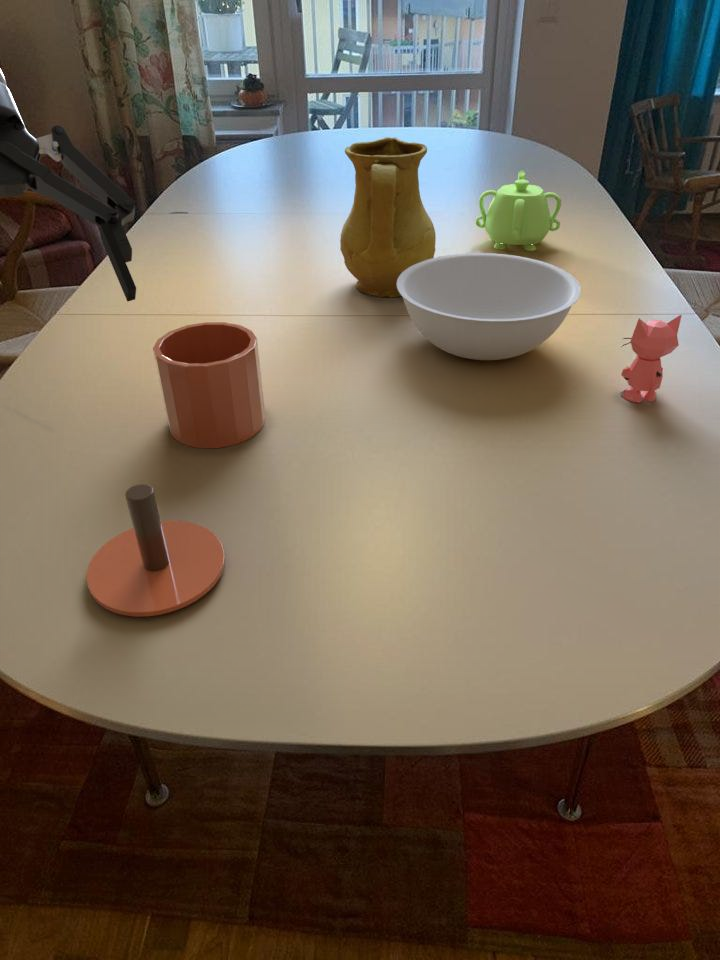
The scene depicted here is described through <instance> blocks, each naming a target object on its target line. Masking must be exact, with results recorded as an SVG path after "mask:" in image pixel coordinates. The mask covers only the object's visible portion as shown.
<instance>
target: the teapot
mask: <svg viewBox="0 0 720 960" xmlns="http://www.w3.org/2000/svg"><path fill="white" fill-rule="evenodd" d="M487 196H494V197H493V199H492V200H491V202H490V204H489V206H488V209H487V212H486V208H485V204H484V200H485V198H486V197H487ZM547 198H553V199H554V200H555V201H556V205H555V208H554V210H553V212H552V214H551V211H550V207H549V203H548V199H547ZM478 206H479V210H480V213H481V215H479V216H477V217H476V219H475V226H476V227H477V228H480V229H485V232H486V234H487V236H488V237H489V239H490V240H491V241H493V242H494V243H495V244H494V245H493V248H494V249H497V250H504V249H506V248H507V246H508V245H515V246H516V245H517V246H522V247H523V250H525V251H527V252H528V251H529V252H530V251H531V252H532V251H533V252H534V251H536V250H537V248H536V245H537V244H539V243H541V242H542V241H543V240H544V239H545V238H546V236H547V235H548V233H549V232H556V231H558V230H559V229H560V227H561V222H560V220H559V219H558V218H556V217H557V216H558V214H559V212H560V209H561V207H562V199H561V197H560V195H558V194H557V193H555V192H553V191H547V192H544V189H543V188H542V187H540V186H539V185H535V184H530V181H529V180H527V179H526V172H525V170H523V169H521V170H519V171H518V174H517V180H514V183H511V184H510V183H508V184H504V185H502V186H500V187H499V188H498V190H494V189H488V190H486V191H483V193H482V194H480V196H479V199H478ZM480 220H482V222H480ZM553 223H555V224H556V225H555V226H553ZM500 243H503V244H500ZM531 244H533V245H531Z"/></svg>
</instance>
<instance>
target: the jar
mask: <svg viewBox="0 0 720 960" xmlns="http://www.w3.org/2000/svg"><path fill="white" fill-rule="evenodd" d="M152 351H153V357H154V361H155V366H156V367H155V368H156V371H157V376H158V381H159V386H160V391H161V396H162V401H163V406H164V411H165V417H166V421H167V422H166V423H167V426H168V428H169V433H170V435H171V436H172V437H173V439H175V440H176V441H177V442H179V443H181V444H182V445H185V446H188V447H192V448H199V449H219V448H220V449H221V448H225V447H231V446H235V445H238V444H240V443H243V442H246V441H248V440H249V439H251V438H253V437H254V436H255V435H257V434H258V433H259V432H260V431H261V429H262V428H264V424H265V421H266V417H265V416H266V410H265V400H264V391H263V380H262V372H261V362H260V353H259V344H258V338H257V336H256V335H255V333H254V332H253V330H252V329H249V328H247V327H246V326H244V325H240V324H236V323H231V322H225V321H224V322H223V321H207V322H205V321H204V322H199V323H193V324H187V325H184V326H181V327H177V328H175V329H171V330H169V331H168V332H166V333H165V334H163V335H162V336H161V337H159V338H158V339H157V340H156V342H155V344H154V346H153V348H152Z"/></svg>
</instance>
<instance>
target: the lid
mask: <svg viewBox="0 0 720 960" xmlns="http://www.w3.org/2000/svg"><path fill="white" fill-rule="evenodd" d="M124 497H125V500H126V505H127V508H128V513H129V516H130V520H131V525H132V528H130V529H127V530H125V531H122V532H121V533H119V534H118V535H116V536H113V538H111V539H109V540H108V541H107V542H106V543H105V544H104V545H102V546H101V547H100V548H99V549H98V550H97V551H96V553H95V554H94V556H93V557H92V559H91V560H90V563H89V564H88V567H87V570H86V584H87V588H88V591H89V593H90V596H91V597H92V598H93V600H94V601H95V602H96V603H97V604H98V605H99V606H100V607H102V608H103V609H106V610H107V611H110V612H112V613H114V614H118V615H122V616H127V617H141V618H143V617H153V616H160V615H164V614H169V613H172V612H175V611H178V610H180V609H183V608H185V607H188V606H189V605H191V604H193V603H195V602H197V601H198V600H199V599H201V598H203V596H205V595H206V594H207V593H208V592H210V591H211V590H212V588H214V586H215V585H217V582H218V581H219V579H220V578H221V576H222V574H223V571H224V569H225V564H226V555H225V550H224V549H225V548H224V546H223V544H222V542H221V540H220V539H219V537H218V536H217V535H216V534H215V533H214V532H212V531H211V530H210V529H209V528H206V527H204V526H202V525H199V524H197V523H195V522H189V521H185V520H161V516H160V512H159V508H158V507H159V506H158V504H157V499H156V494H155V490H154V487H153V486H151V485H150V484H148V483H138V484H134V485H132V486H130V487H128V488H127V489H126V491H125V493H124Z"/></svg>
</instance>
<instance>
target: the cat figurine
mask: <svg viewBox="0 0 720 960" xmlns="http://www.w3.org/2000/svg"><path fill="white" fill-rule="evenodd" d="M681 320H682V313H681V314H679V315H677V316H676V317H675V318H673V319H671V320H670V321H668V322H666V321H663V320H659V319H651V320H648V321H646V322H645V321H643V320H642V319H641V318H639V317H638V319H637V321H636V324H635V328H634V330H633V332H632V336H631V337H623V338H622V340H630V342H627V343H625V344H623V345H621V346H620V348H622V347H623V346H626V345H629V344H630V345H631V350H632V351H633V352H634V353H635V354H636V357H635V358H634V359H633V361H632V362H631V364H630V366H628V365H627V366H626V367H625V368H623V369H622V371H621V374H620V376H622V378H624V380H626V382H627V385H628V386H630V387H628V388H625V389H624V390H622V391H620V397H622V398H623V399H626V400H628V401H630V402H633V403H638V404H640V403H642V402H643V401H642V398H643V399H644V400H646V401H647V402H654V401H656V400H657V392H656V391H657V390H659V389H661V385H662V381H663V373H664V372H663V370H664V368H663V367H662V360H661V358H663V357H665V356H667V355H670V354H672V353H673V352H674V351H675V350H676V348H678V347H679V346H680V345H679V340H678V339H679V338H678V334H679V328H680V324H681Z"/></svg>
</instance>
